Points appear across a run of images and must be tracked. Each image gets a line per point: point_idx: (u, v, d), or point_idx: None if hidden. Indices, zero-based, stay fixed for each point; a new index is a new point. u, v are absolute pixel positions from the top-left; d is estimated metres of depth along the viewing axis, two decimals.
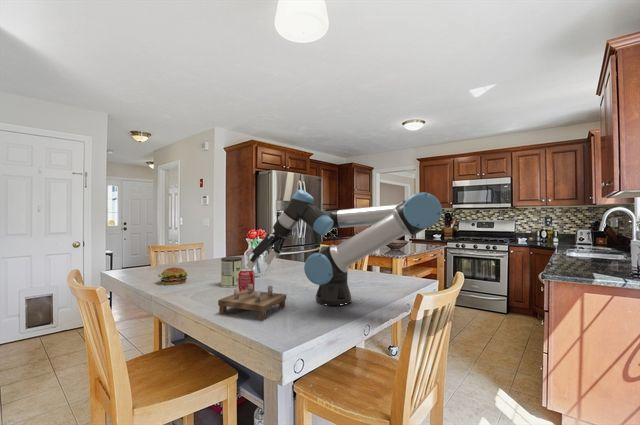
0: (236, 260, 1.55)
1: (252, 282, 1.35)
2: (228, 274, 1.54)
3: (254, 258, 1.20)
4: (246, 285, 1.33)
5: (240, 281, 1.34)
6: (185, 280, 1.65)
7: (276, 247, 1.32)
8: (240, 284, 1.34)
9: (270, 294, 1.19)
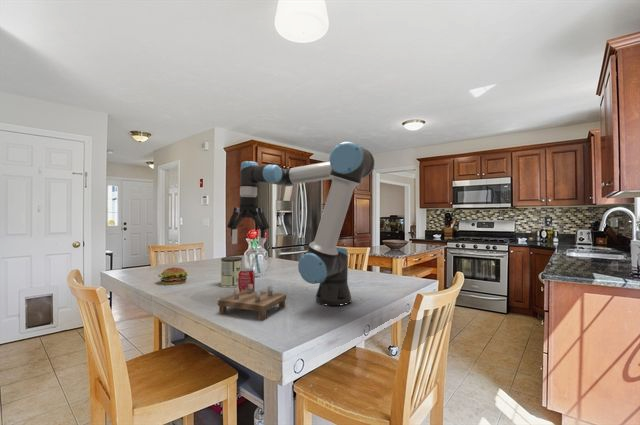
0: (236, 260, 1.55)
1: (252, 282, 1.35)
2: (228, 274, 1.54)
3: (231, 232, 1.39)
4: (246, 285, 1.33)
5: (240, 281, 1.34)
6: (185, 280, 1.65)
7: None
8: (240, 284, 1.34)
9: (270, 294, 1.19)
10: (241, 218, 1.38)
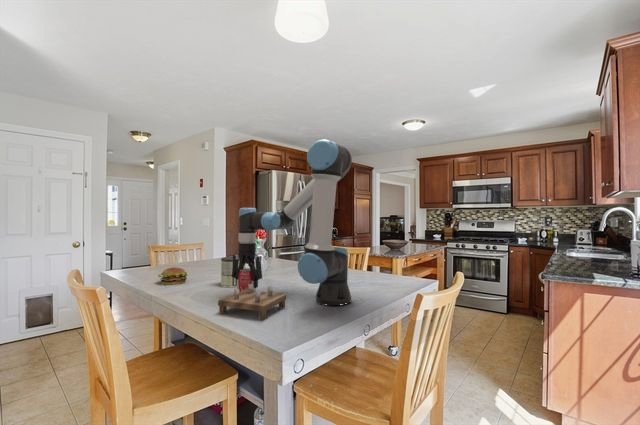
0: None
1: None
2: (228, 274, 1.54)
3: None
4: (245, 285, 1.33)
5: (240, 281, 1.34)
6: (185, 280, 1.65)
7: None
8: (240, 284, 1.34)
9: (270, 294, 1.19)
10: (242, 265, 1.37)
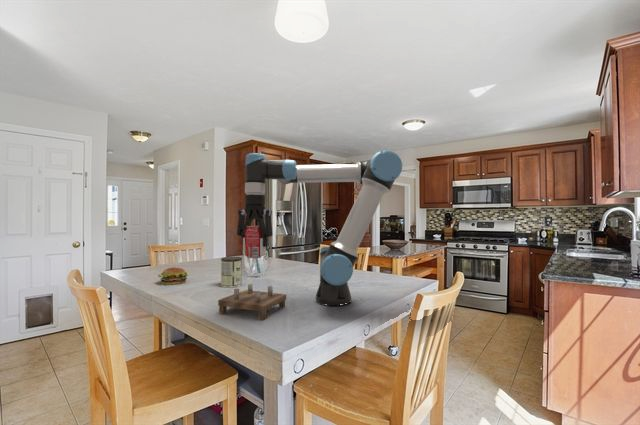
0: (236, 260, 1.55)
1: None
2: (228, 274, 1.54)
3: None
4: (253, 243, 1.14)
5: (247, 238, 1.15)
6: (185, 280, 1.65)
7: None
8: (247, 242, 1.15)
9: (270, 294, 1.19)
10: (249, 221, 1.18)
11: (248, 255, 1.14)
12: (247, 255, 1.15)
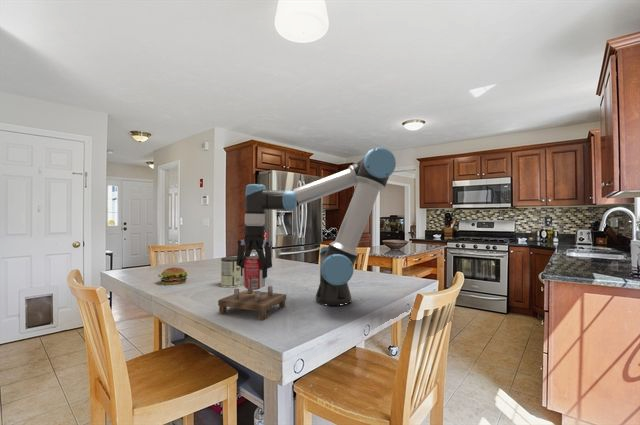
0: (236, 260, 1.55)
1: None
2: (228, 274, 1.54)
3: (241, 271, 1.18)
4: (253, 275, 1.14)
5: (246, 270, 1.14)
6: (185, 280, 1.65)
7: None
8: (246, 273, 1.14)
9: (270, 294, 1.19)
10: (249, 251, 1.18)
11: (247, 287, 1.14)
12: (246, 287, 1.14)
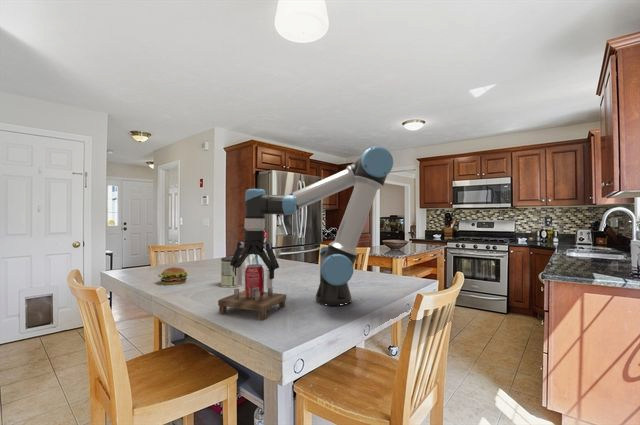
0: None
1: (261, 280, 1.15)
2: (228, 274, 1.54)
3: (235, 270, 1.19)
4: (254, 283, 1.13)
5: (247, 279, 1.14)
6: (185, 280, 1.65)
7: None
8: (247, 282, 1.14)
9: (270, 294, 1.19)
10: (246, 255, 1.18)
11: (248, 296, 1.14)
12: (247, 295, 1.14)
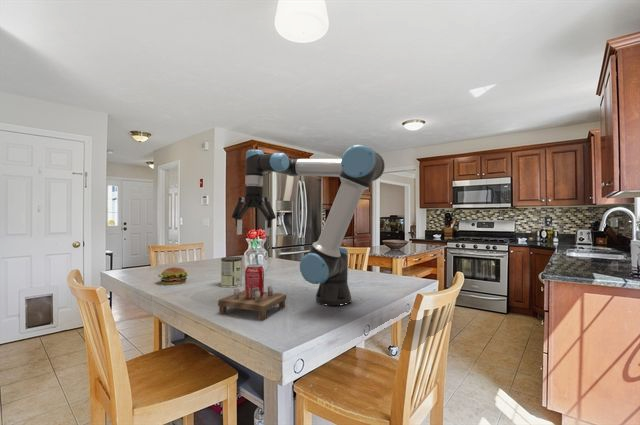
0: (236, 260, 1.55)
1: (261, 280, 1.15)
2: (228, 274, 1.54)
3: (236, 222, 1.36)
4: (254, 284, 1.13)
5: (247, 279, 1.14)
6: (185, 280, 1.65)
7: None
8: (247, 282, 1.14)
9: (270, 294, 1.19)
10: (246, 208, 1.35)
11: (248, 296, 1.14)
12: (247, 296, 1.14)
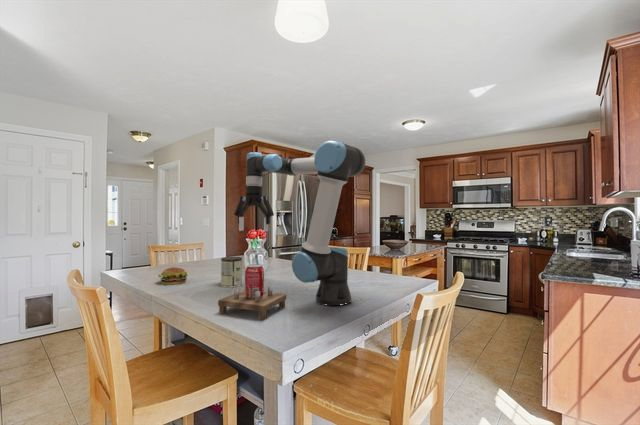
0: (236, 260, 1.55)
1: (261, 280, 1.15)
2: (228, 274, 1.54)
3: (238, 219, 1.48)
4: (254, 284, 1.13)
5: (247, 279, 1.14)
6: (185, 280, 1.65)
7: None
8: (247, 282, 1.14)
9: (270, 294, 1.19)
10: (247, 206, 1.46)
11: (248, 296, 1.14)
12: (247, 296, 1.14)
